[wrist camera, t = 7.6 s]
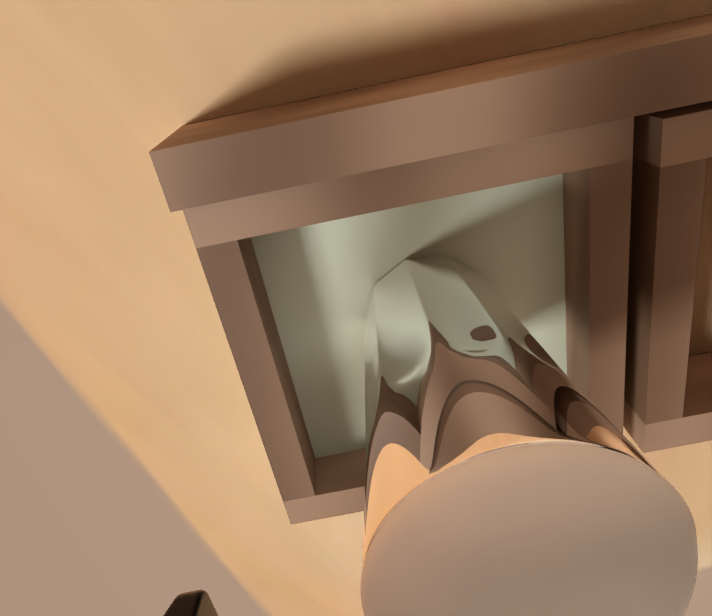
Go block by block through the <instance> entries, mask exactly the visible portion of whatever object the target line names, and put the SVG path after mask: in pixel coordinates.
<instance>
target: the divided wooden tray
mask: <svg viewBox="0 0 712 616" xmlns="http://www.w3.org/2000/svg"><path fill="white" fill-rule="evenodd" d="M149 153H150V156H151V159H152V161H153V164H154V167H155V170H156V173H157V176H158V178H159V181H160V184H161V187H162V190H163V192H164V195H165V198H166V201H167V204H168V207H169V209H170V212H174V211H179V210H183V212H184V215H185V218H186V221H187V223H188V226H189V229H190V232H191V235H192V238H193V241H194V244H195V247H196V250H197V252H198V255H199V258H200V261H201V264H202V267H203V270H204V273H205V276H206V279H207V282H208V284H209V287H210V290H211V293H212V296H213V299H214V302H215V305H216V308H217V311H218V314H219V316H220V319H221V322H222V325H223V328H224V331H225V334H226V337H227V340H228V343H229V345H230V348H231V351H232V354H233V357H234V360H235V363H236V366H237V369H238V372H239V375H240V377H241V380H242V383H243V386H244V389H245V392H246V395H247V398H248V401H249V404H250V407H251V409H252V412H253V415H254V418H255V421H256V424H257V427H258V430H259V433H260V436H261V438H262V441H263V444H264V447H265V450H266V453H267V456H268V459H269V462H270V465H271V468H272V470H273V473H274V476H275V479H276V482H277V485H278V488H279V491H280V494H281V497H282V500H283V502H284V505H285V508H286V511H287V514H288V517H289V520H290V523H291V524H296V523H302V522H307V521H312V520H318V519H323V518H328V517H334V516H339V515H344V514H349V513H355V512H360V511H364V497H365V463H366V430H365V354H364V319H365V316H366V312H367V309H368V305H369V301H370V298H371V294H372V290H373V287H374V284H375V283H376V282H378V281H379V280H380V279H382V278H383V277H384V276H385V275H387V274H388V273H389V272H390V271H392V270H393V269H394V268H395V267H397V266H398V265H399V264H400V263H402V262H403V261H404V260H405V259H416V258H426V257H436V256H447V257H449V258H451V259H452V260H454V261H456V262H458V263H459V264H461V265H463V266H464V267H466V268H468V269H470V270H471V271H473V272H475V273H477V274H478V275H479V276H480V277H481V278H482V279H483V280H484V281H485V282H486V283H487V284H488V286H489V287H490V288H491V289H492V290H493V291H494V292H495V293H496V295H497V296H498V297H499V298H500V299H501V300H502V301H503V303H504V304H505V305H506V306H507V307H508V308H509V309H510V311H511V312H512V313H513V314H514V315H515V316H516V317H517V319H518V320H519V321H520V322H521V323H522V324H523V325H524V327H525V328H526V329H527V330H528V331H529V332H530V333H531V335H532V336H533V337H534V338H535V339H536V340H537V341H538V343H539V344H540V345H541V346H542V347H543V348H544V349H545V351H546V352H547V353H548V354H549V355H550V356H551V358H552V359H553V360H554V361H555V362H556V363H557V365H558V366H559V367H560V368H561V369H562V370H563V372H564V373H565V374H566V375H567V376H568V377H569V378H570V379H571V380H572V382H573V383H574V384H575V385H576V386H577V387H578V388H579V389H580V390H581V391H582V392H583V393H584V394H585V395H586V396H587V398H588V399H589V400H590V401H591V402H592V403H593V404H594V405H595V406H596V407H597V408H598V409H599V410H600V411H601V412H602V413H603V414H604V415H605V416H606V418H607V419H608V420H609V421H610V422H611V423H612V424H613V425H614V426H615V427H616V428H617V429H618V430H619V431H620V432H621V433H622V434H623V426H624V428H625V429H626V430H627V432H628V433H629V434H630V436H631V437H632V438H633V440H634V441H635V442H636V444H637V445H638V446H639V448H640V449H641V450H642V452H643V453H646V452H651V451H656V450H662V449H667V448H672V447H678V446H683V445H688V444H694V443H699V442H704V441H710V440H712V352H709V353H704V354H699V355H694V356H689V357H688V355H689V345H690V335H691V325H692V314H693V304H694V294H695V283H696V273H697V263H698V252H699V242H700V232H701V221H702V211H703V201H704V190H705V180H706V170H707V159H708V158H710V157H712V14H710V15H705V16H700V17H695V18H691V19H686V20H681V21H676V22H672V23H667V24H662V25H658V26H653V27H648V28H643V29H639V30H634V31H629V32H624V33H620V34H615V35H610V36H605V37H601V38H596V39H591V40H586V41H582V42H577V43H572V44H567V45H563V46H558V47H553V48H548V49H544V50H539V51H534V52H529V53H525V54H520V55H515V56H511V57H506V58H501V59H496V60H492V61H487V62H482V63H477V64H473V65H468V66H463V67H458V68H454V69H449V70H444V71H439V72H435V73H430V74H425V75H420V76H416V77H411V78H406V79H401V80H397V81H392V82H387V83H382V84H378V85H373V86H368V87H364V88H359V89H354V90H349V91H345V92H340V93H335V94H330V95H326V96H321V97H316V98H311V99H307V100H302V101H297V102H292V103H288V104H283V105H278V106H273V107H269V108H264V109H259V110H254V111H250V112H245V113H240V114H235V115H231V116H226V117H221V118H217V119H212V120H207V121H202V122H198V123H193V124H188V125H183V126H181V127H180V128H179V129H178V130H176V131H175V132H174V133H173V134H171V135H170V136H169V137H167V138H166V139H165V140H164V141H162V142H161V143H160V144H159V145H157V146H156V147H155V148H153V149H152V150H151V151H150V152H149Z"/></svg>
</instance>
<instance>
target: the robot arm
mask: <svg viewBox="0 0 712 616" xmlns="http://www.w3.org/2000/svg"><path fill="white" fill-rule="evenodd" d="M164 616H218V614H217V612H216V610H215V608H214V606H213V604H212V601H211V599H210V597H209V595H208V594H207V592H206V591H204V590H197V591H191V592H186V593H182V594H180V595H178V596H177V597H176V598H175V599H174V601H173V602H172V604H171V605H170V607H169V608H168V610H167V611H166V613H165V614H164Z"/></svg>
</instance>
